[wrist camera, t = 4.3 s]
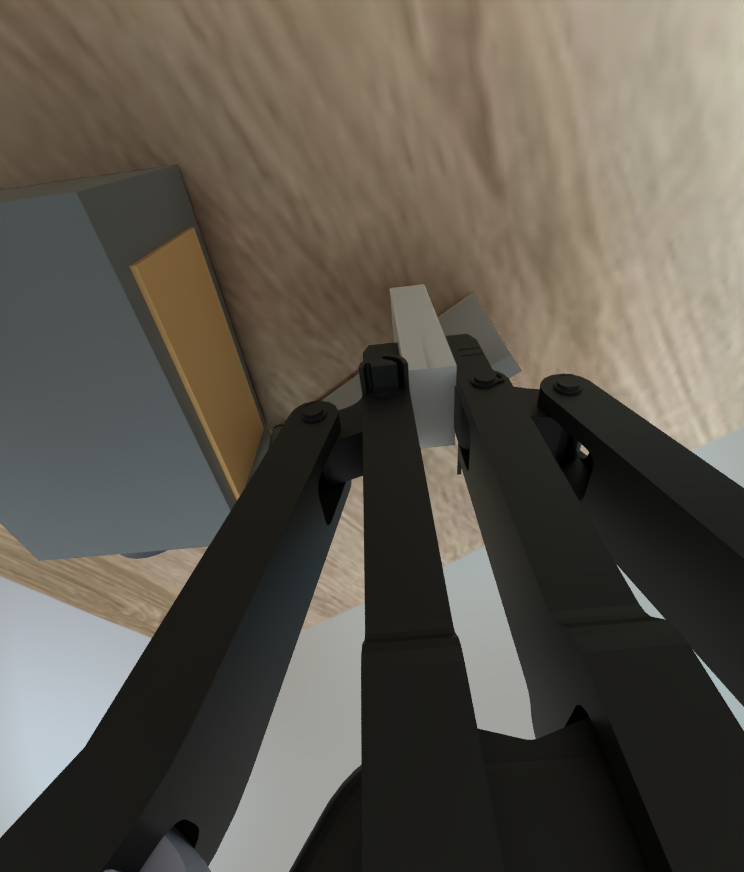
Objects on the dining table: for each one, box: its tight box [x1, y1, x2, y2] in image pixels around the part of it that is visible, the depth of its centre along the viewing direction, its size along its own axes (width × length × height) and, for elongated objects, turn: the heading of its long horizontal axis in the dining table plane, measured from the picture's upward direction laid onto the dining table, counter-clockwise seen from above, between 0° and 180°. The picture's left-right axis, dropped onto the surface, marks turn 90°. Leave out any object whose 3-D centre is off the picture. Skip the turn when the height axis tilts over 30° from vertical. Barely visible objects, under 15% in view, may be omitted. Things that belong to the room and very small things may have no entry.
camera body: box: [0, 165, 271, 561], centre depth 18 cm, size 16×10×8 cm, turn 7°
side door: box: [267, 292, 521, 451], centre depth 19 cm, size 13×2×7 cm, turn 128°
